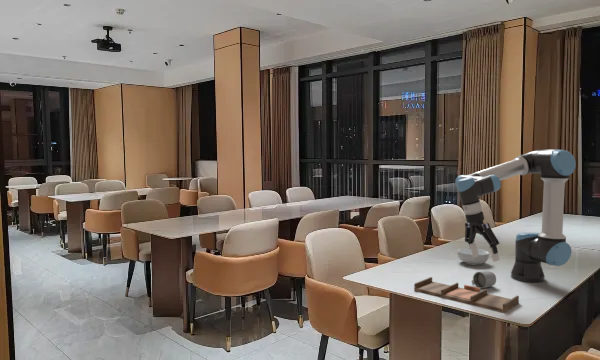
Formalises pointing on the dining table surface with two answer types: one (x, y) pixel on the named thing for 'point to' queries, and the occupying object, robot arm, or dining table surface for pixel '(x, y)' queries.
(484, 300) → the rack
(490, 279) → the ceramic mug
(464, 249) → the cereal bowl
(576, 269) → the dining table surface
